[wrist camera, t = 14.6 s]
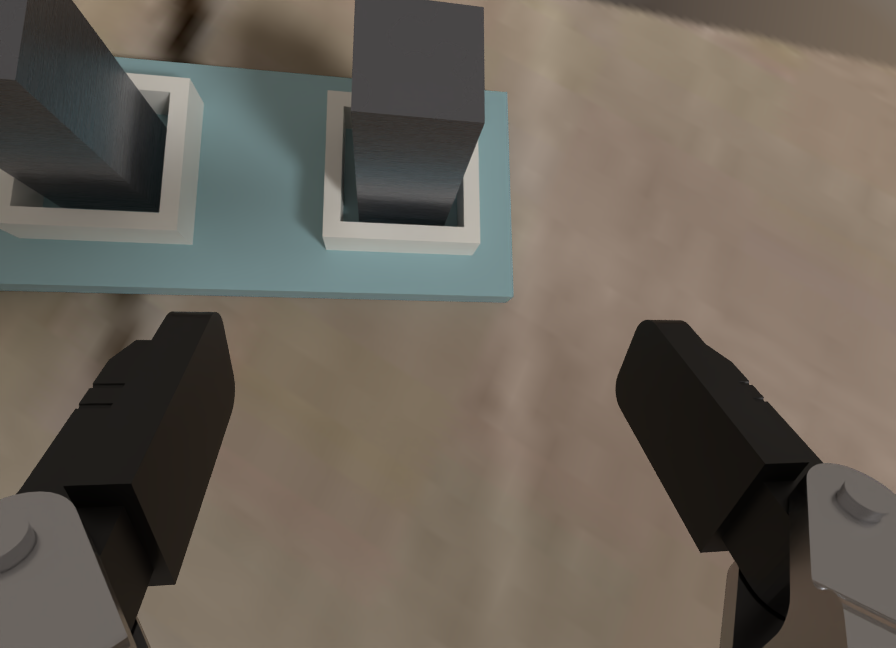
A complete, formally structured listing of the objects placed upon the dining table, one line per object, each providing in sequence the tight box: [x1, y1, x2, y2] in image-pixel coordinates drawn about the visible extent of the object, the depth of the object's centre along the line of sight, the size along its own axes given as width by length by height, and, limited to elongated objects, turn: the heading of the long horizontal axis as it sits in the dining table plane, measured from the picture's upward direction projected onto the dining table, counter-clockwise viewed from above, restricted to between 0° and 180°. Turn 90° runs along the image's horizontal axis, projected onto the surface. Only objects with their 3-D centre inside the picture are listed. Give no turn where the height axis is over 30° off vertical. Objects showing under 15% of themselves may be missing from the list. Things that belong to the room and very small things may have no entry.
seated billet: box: [0, 0, 167, 212], centre depth 19 cm, size 4×5×10 cm
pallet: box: [0, 57, 513, 303], centre depth 25 cm, size 26×12×4 cm, turn 91°
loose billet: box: [351, 0, 485, 226], centre depth 21 cm, size 4×5×10 cm
